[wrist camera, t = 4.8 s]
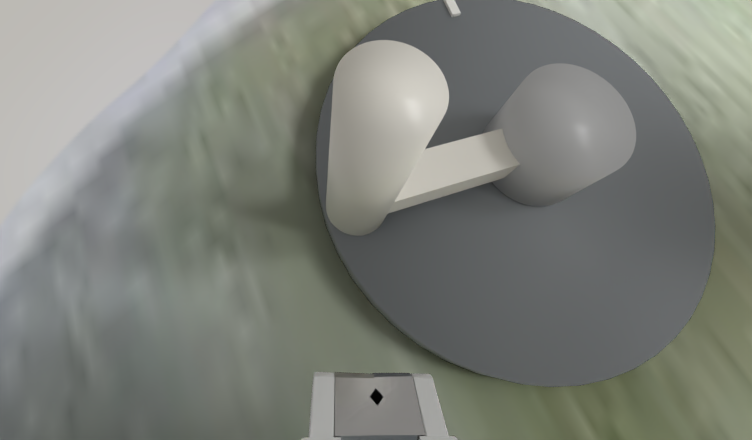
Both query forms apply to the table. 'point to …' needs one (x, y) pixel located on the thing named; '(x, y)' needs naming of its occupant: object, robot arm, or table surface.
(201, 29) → the table surface
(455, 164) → the dial lever
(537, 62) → the dial plate
